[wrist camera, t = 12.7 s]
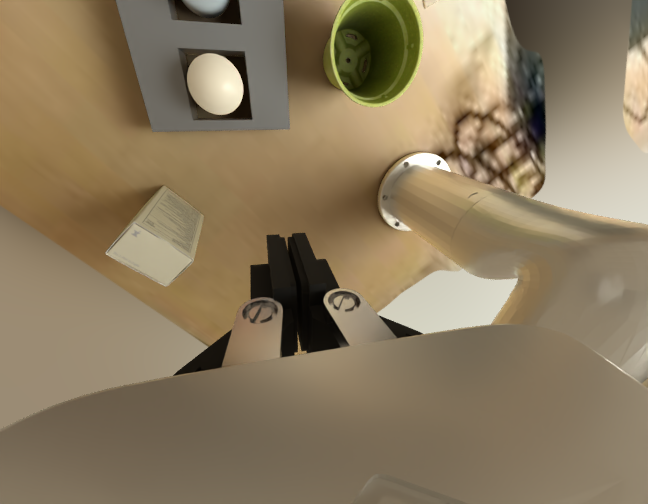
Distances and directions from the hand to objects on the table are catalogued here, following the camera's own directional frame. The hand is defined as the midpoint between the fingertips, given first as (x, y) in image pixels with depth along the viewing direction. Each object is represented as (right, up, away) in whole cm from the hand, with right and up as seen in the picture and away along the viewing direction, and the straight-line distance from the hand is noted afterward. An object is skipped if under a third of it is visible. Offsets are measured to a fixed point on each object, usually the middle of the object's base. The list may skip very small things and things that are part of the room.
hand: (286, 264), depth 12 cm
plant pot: (+4, +24, +20) cm, 32 cm away
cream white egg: (-9, +18, +16) cm, 26 cm away
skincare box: (-18, +6, +23) cm, 30 cm away
